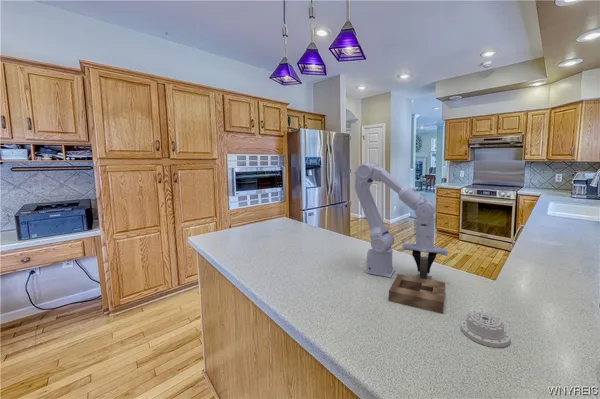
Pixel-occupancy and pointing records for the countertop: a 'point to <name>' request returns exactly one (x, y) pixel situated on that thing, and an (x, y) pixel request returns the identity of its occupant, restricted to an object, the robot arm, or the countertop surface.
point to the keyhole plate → (418, 293)
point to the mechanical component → (485, 329)
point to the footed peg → (423, 269)
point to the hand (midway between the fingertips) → (423, 271)
